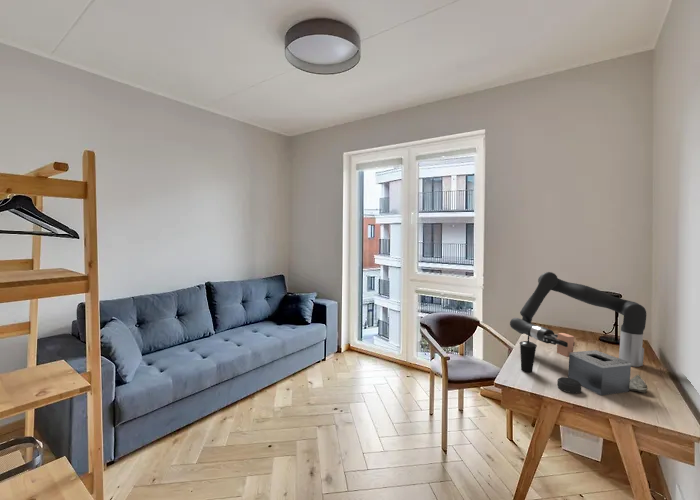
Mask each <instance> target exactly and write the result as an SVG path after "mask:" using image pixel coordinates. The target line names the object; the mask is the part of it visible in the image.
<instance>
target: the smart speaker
mask: <svg viewBox="0 0 700 500" xmlns="http://www.w3.org/2000/svg"><path fill="white" fill-rule="evenodd" d="M556 383H557V384H556V385H557V388H558V389H560V390H561V391H563V392H565V393H570V394H579V393H582V386H581V383H580V382H578V381H577V380H574V379H571V378H568V376H567V377H565V376H564V377H562V376H561V377H559V378H558V379H557V381H556Z"/></svg>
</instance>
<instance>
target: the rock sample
mask: <svg viewBox="0 0 700 500" xmlns="http://www.w3.org/2000/svg"><path fill="white" fill-rule="evenodd" d="M648 390H649V387H648V384H647V383H646V382H645V380H644V379H643V378H642V376H640V375H639V374H636V375H635V376H634V377H633V378H630V385H629V391H632V392H633V391H635V392H638V393H640V394H646V393H647V392H648Z"/></svg>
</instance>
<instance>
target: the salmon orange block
mask: <svg viewBox="0 0 700 500" xmlns="http://www.w3.org/2000/svg"><path fill="white" fill-rule="evenodd" d="M557 335H558V338H557V339H560V340H562V341H565V342H567V343H568V347H565V346H562V345H558V344H556V353H557V354H559V355H562V356H564V357H567V358H569V353H570V352H574V347H575V336H574V335H571V334H568V333H565V332H557Z"/></svg>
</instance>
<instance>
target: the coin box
mask: <svg viewBox="0 0 700 500" xmlns="http://www.w3.org/2000/svg"><path fill="white" fill-rule="evenodd" d="M631 368H632V366H631V363H630V362H627V361H625V360H622V359H619V357H616V356H613V355H610V354H608V353H605V352H602V351H599V350H597V349H593V350H583V351H580V350H579V351H573V352H570V353H569V357H568V370H567V371H568V372H567V373H568V374H567V378H571V379H574V380H577V381H578V382H580V383H581V387H583V388H584V389H587V390H589V391H591V392H593V393H595V394H597V395H599V396H606V395H617V394H622V393H623V394H624V393H630V390H629V385H630V380H631V370H632V369H631Z"/></svg>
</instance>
